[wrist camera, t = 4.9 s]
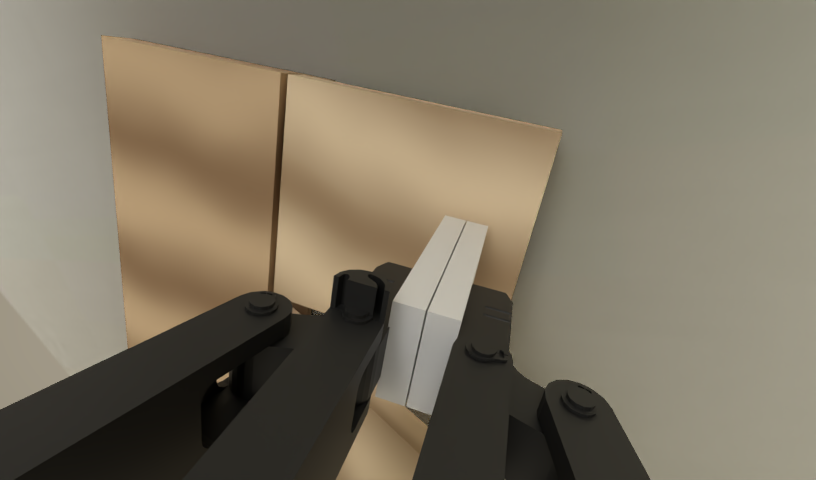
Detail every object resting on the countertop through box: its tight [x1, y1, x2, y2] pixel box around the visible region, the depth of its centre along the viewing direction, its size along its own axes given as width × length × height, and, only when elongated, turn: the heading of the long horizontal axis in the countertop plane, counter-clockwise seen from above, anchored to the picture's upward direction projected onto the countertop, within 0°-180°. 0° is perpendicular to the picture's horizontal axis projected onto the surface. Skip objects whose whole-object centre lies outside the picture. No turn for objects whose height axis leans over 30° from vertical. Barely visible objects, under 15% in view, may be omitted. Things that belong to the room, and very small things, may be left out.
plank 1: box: [274, 74, 562, 313], centre depth 17 cm, size 10×10×1 cm
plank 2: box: [292, 308, 428, 480], centre depth 19 cm, size 10×10×1 cm
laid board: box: [101, 35, 335, 383], centre depth 21 cm, size 20×10×2 cm, turn 170°
